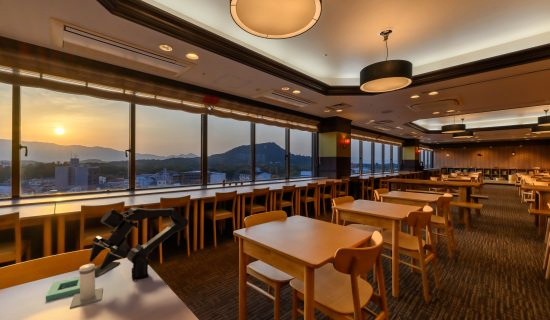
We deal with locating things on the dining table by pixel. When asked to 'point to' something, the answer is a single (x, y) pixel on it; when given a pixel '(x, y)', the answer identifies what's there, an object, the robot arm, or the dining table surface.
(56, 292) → the green square frame
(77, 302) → the beige square plate
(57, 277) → the dining table surface
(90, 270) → the white capped cylinder
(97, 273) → the phone
